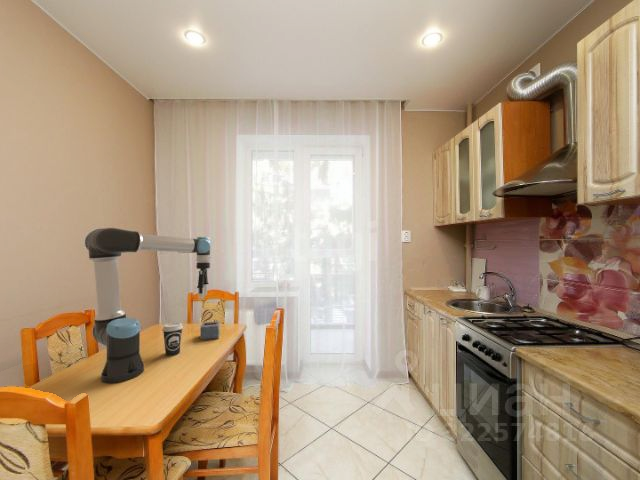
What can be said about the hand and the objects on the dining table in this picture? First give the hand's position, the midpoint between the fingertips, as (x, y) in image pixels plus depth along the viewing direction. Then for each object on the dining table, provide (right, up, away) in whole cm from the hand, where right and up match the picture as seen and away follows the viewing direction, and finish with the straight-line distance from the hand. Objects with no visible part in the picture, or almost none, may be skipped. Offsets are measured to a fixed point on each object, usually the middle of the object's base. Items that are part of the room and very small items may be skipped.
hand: (202, 296), depth 162 cm
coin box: (+4, -25, +1) cm, 25 cm away
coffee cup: (-5, -25, -23) cm, 34 cm away
